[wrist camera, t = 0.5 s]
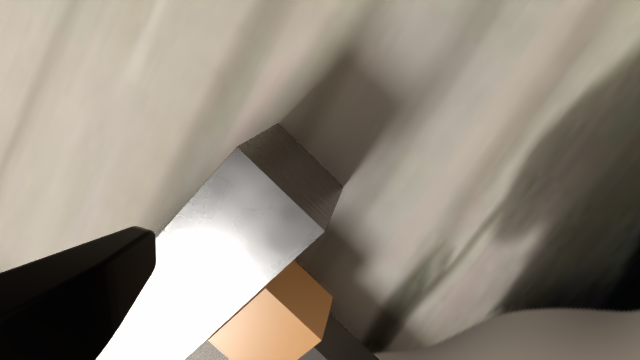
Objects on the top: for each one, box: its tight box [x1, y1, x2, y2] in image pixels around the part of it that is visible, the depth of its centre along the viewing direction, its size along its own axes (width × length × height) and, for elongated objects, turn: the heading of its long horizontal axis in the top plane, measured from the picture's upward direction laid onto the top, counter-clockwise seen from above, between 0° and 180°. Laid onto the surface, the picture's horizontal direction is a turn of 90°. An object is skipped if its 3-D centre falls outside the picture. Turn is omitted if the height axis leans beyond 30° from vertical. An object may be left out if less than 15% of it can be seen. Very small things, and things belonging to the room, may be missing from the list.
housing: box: [96, 124, 343, 360], centre depth 22 cm, size 16×5×6 cm, turn 137°
